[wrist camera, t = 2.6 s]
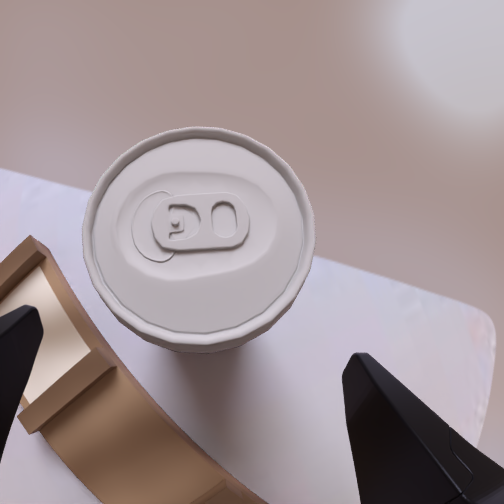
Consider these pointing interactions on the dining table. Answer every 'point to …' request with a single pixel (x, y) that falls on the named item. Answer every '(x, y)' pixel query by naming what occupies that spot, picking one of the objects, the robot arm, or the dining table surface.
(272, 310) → the beverage can
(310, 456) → the dining table surface
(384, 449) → the robot arm
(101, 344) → the walnut rail
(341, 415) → the dining table surface
